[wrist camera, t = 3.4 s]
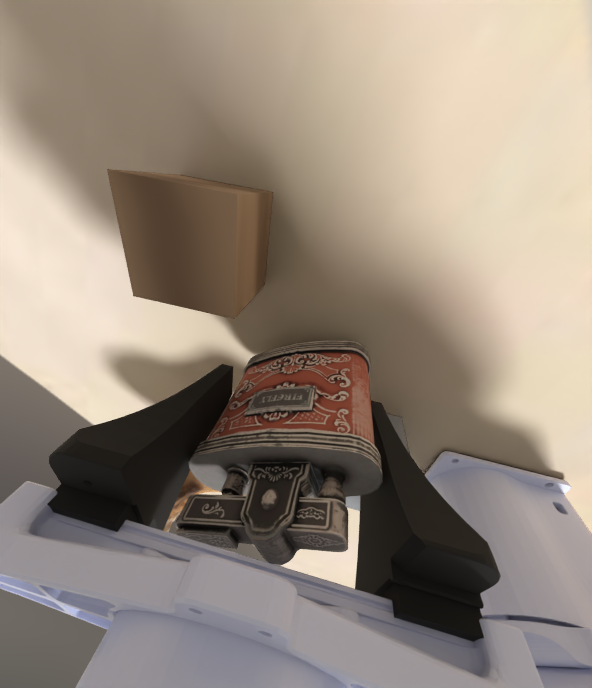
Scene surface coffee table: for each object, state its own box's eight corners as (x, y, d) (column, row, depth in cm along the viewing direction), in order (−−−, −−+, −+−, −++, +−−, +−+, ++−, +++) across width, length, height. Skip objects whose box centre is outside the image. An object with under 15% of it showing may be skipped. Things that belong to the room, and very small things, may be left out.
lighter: (365, 332, 14) (384, 531, 6) (373, 379, 16) (398, 590, 8) (240, 352, 17) (128, 515, 8) (258, 391, 18) (178, 562, 10)
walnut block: (273, 192, 13) (237, 193, 9) (264, 284, 16) (234, 318, 12) (182, 175, 14) (107, 169, 9) (189, 268, 16) (133, 295, 12)
